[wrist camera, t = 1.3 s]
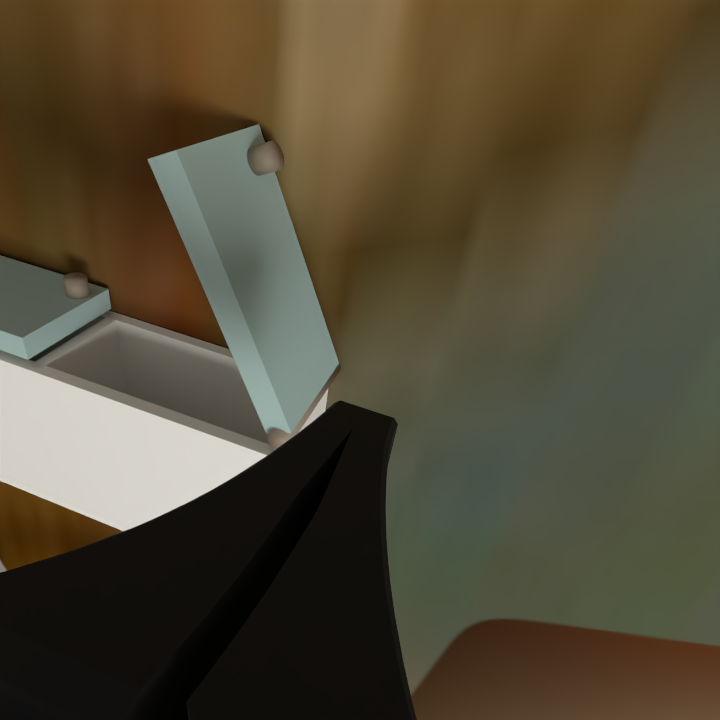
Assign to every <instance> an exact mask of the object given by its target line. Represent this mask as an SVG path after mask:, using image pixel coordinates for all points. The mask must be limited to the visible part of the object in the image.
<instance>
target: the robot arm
mask: <svg viewBox="0 0 720 720" xmlns="http://www.w3.org/2000/svg"><path fill="white" fill-rule="evenodd" d="M397 425H398V424H397V422H396V421H395V419H394V418H392V417H389V416H386V415H383V414H380V413H377V412H374V411H371V410H368V409H365V408H362V407H358V406H355V405H352V404H349V403H346V402H343V401H338V402H336V403H334V404H333V405H332V406H331V407H329V408H328V409H327V410H326V411H325V412H324V413H322V414H321V415H320V416H319V417H318V418H316V419H315V420H314V421H313V422H312V423H310V424H309V425H308V426H306V427H305V428H304V429H303V430H301V431H300V432H299V433H298V434H296V435H295V436H294V437H292V438H291V439H289V440H288V441H287V442H285V443H284V444H283V445H281V446H280V447H278V448H277V449H276V450H274V451H273V452H272V453H270V454H269V455H267V456H266V457H264V458H263V459H261V460H260V461H258V462H256V463H255V464H253V465H252V466H250V467H249V468H247V469H246V470H244V471H243V472H241V473H239V474H238V475H236V476H235V477H233V478H231V479H230V480H228V481H226V482H225V483H223V484H221V485H219V486H218V487H216V488H214V489H212V490H211V491H209V492H207V493H205V494H203V495H201V496H199V497H197V498H196V499H194V500H192V501H190V502H188V503H186V504H184V505H182V506H179V507H177V508H175V509H173V510H171V511H169V512H167V513H165V514H163V515H161V516H159V517H156V518H154V519H152V520H150V521H147V522H145V523H143V524H141V525H138V526H136V527H133V528H131V529H128V530H126V531H123V532H120V533H118V534H115V535H113V536H110V537H108V538H105V539H102V540H100V541H97V542H95V543H92V544H90V545H87V546H84V547H81V548H79V549H76V550H73V551H70V552H67V553H64V554H60V555H57V556H54V557H51V558H48V559H44V560H41V561H38V562H35V563H32V564H28V565H25V566H22V567H19V568H15V569H12V570H9V571H5V572H1V573H0V720H417V719H416V715H415V711H414V707H413V703H412V699H411V695H410V690H409V686H408V681H407V677H406V672H405V668H404V663H403V658H402V653H401V647H400V641H399V636H398V630H397V625H396V619H395V614H394V607H393V600H392V592H391V585H390V576H389V566H388V555H387V541H386V476H387V467H388V462H389V458H390V454H391V450H392V446H393V442H394V438H395V433H396V429H397Z"/></svg>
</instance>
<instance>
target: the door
mask: <svg viewBox="0 0 720 720" xmlns="http://www.w3.org/2000/svg"><path fill="white" fill-rule="evenodd" d="M148 162H149V164H150V166H151V169H152V171H153V173H154V176H155V178H156V180H157V183H158V185H159V187H160V190H161V192H162V194H163V196H164V199H165V201H166V203H167V206H168V208H169V210H170V213H171V215H172V217H173V220H174V222H175V224H176V226H177V229H178V231H179V233H180V236H181V238H182V240H183V243H184V245H185V247H186V250H187V252H188V254H189V256H190V259H191V261H192V263H193V266H194V268H195V270H196V273H197V275H198V277H199V280H200V282H201V284H202V286H203V289H204V291H205V293H206V296H207V298H208V300H209V303H210V305H211V307H212V310H213V312H214V314H215V316H216V319H217V321H218V323H219V326H220V328H221V330H222V333H223V335H224V337H225V340H226V342H227V344H228V346H229V349H230V351H231V353H232V356H233V358H234V360H235V363H236V365H237V367H238V370H239V372H240V374H241V376H242V379H243V381H244V383H245V386H246V388H247V390H248V393H249V395H250V397H251V400H252V402H253V404H254V407H255V409H256V411H257V413H258V416H259V418H260V420H261V423H262V425H263V427H264V430H265V432H266V434H269V435H268V437H267V440H268V443H269V444H270V446H271V447H272V448H274V449H275V450H276V449H277V448H278V447H280V446H281V445H283V444H284V443H285V442H287V441H288V440H289V439H291V438H292V437H294V436H295V435H296V434H298V433H299V431H300V430H301V428H302V427H303V425H304V424H305V422H306V421H307V419H308V418H309V416H310V415H311V413H312V412H313V410H314V409H315V407H316V406H317V404H318V403H319V401H320V400H321V398H322V397H323V395H324V394H325V392H326V391H327V389H328V388H329V386H330V385H331V383H332V382H333V380H334V379H335V377H336V376H337V374H338V373H339V371H340V364H339V362H338V359H337V356H336V353H335V350H334V347H333V344H332V341H331V338H330V335H329V332H328V329H327V326H326V323H325V320H324V317H323V314H322V311H321V308H320V305H319V302H318V299H317V296H316V293H315V290H314V287H313V284H312V281H311V278H310V275H309V272H308V269H307V266H306V263H305V260H304V257H303V254H302V251H301V248H300V245H299V242H298V239H297V236H296V233H295V230H294V227H293V224H292V221H291V218H290V215H289V212H288V209H287V206H286V203H285V200H284V197H283V194H282V191H281V189H280V186H279V183H278V180H277V177H276V174H275V171H279V170H282V169H283V166H284V157H283V153H282V150H281V148H280V146H279V145H278V143H277V142H275V141H273V140H272V141H269V142H265V141H264V138H263V135H262V132H261V129H260V126H259V124H258V125H255V126H252V127H248V128H245V129H242V130H239V131H236V132H232V133H229V134H226V135H223V136H220V137H216V138H213V139H210V140H207V141H204V142H200V143H197V144H194V145H191V146H188V147H184V148H181V149H178V150H175V151H172V152H168V153H165V154H162V155H159V156H156V157H152V158H149V159H148Z"/></svg>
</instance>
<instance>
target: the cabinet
mask: <svg viewBox="0 0 720 720" xmlns="http://www.w3.org/2000/svg"><path fill="white" fill-rule="evenodd" d="M110 309H111V304H110V297H109V290H108V289H107V288H103V287H100V286H97V285H94V284H91V283H88V278H87V275H86V274H84V273H80V272H74V273H69V274H66V275H62V274H59V273H55V272H52V271H49V270H46V269H43V268H39V267H36V266H33V265H30V264H27V263H23V262H20V261H17V260H14V259H11V258H7V257H4V256H1V255H0V481H2V482H5V483H7V484H10V485H12V486H14V487H17V488H19V489H22V490H24V491H27V492H29V493H31V494H34V495H36V496H39V497H41V498H44V499H46V500H49V501H51V502H53V503H56V504H58V505H61V506H63V507H66V508H68V509H71V510H73V511H75V512H78V513H80V514H83V515H85V516H88V517H90V518H92V519H95V520H97V521H100V522H102V523H105V524H107V525H110V526H112V527H114V528H117V529H119V530H122V531H126V530H128V529H131V528H133V527H136V526H138V525H141V524H143V523H145V522H147V521H150V520H152V519H154V518H156V517H159V516H161V515H163V514H165V513H167V512H169V511H171V510H173V509H175V508H177V507H179V506H182V505H184V504H186V503H188V502H190V501H192V500H194V499H196V498H197V497H199V496H201V495H203V494H205V493H207V492H209V491H211V490H212V489H214V488H216V487H218V486H219V485H221V484H223V483H225V482H226V481H228V480H230V479H231V478H233V477H235V476H236V475H238V474H239V473H241V472H243V471H244V470H246V469H247V468H249V467H250V466H252V465H253V464H255V463H256V462H258V461H260V460H261V459H263V458H264V457H266V456H267V455H269V454H270V453H272V452H273V451H274V450H275V449H274V448H272V447H271V446H270V444H269V443H268V440H267V437H268V435H269V434H266V432H265V430H264V427H263V425H262V423H261V420H260V418H259V416H258V413H257V411H256V409H255V407H254V404H253V402H252V400H251V397H250V395H249V393H248V390H247V388H246V386H245V383H244V381H243V379H242V376H241V374H240V372H239V370H238V367H237V365H236V363H235V360H234V358H233V356H232V353H231V351H230V349H227V348H224V347H221V346H218V345H215V344H212V343H208V342H205V341H202V340H199V339H196V338H193V337H190V336H187V335H184V334H180V333H177V332H174V331H171V330H168V329H165V328H162V327H159V326H156V325H152V324H149V323H146V322H143V321H140V320H137V319H134V318H131V317H127V316H124V315H121V314H118V313H115V312H112V311H109V310H110ZM327 394H328V389H327V391H326V392H325V394H324V395H323V397H322V398H321V400H320V401H319V403H318V404H317V406H316V407H315V409H314V410H313V412H312V413H311V415H310V416H309V418H308V419H307V421H306V422H305V424H304V425H303V427H302V428H301V430H303V429H304V428H305V427H306V426H308V425H309V424H310V423H312V422H313V421H314V420H315V419H316V418H318V417H319V416H320V415H321V414H322V413H324V412H325V409H326V402H327ZM301 430H300V431H301ZM300 431H299V432H300Z"/></svg>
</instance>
